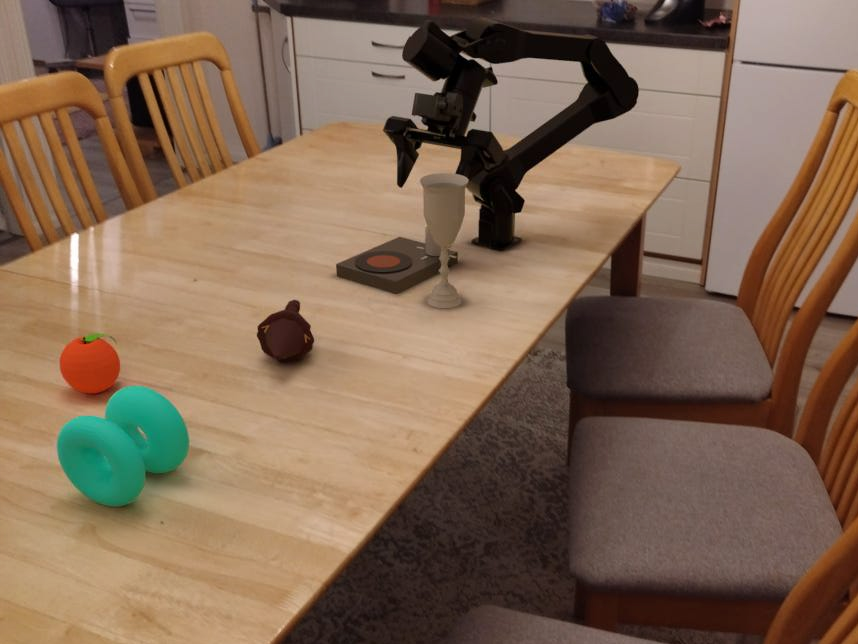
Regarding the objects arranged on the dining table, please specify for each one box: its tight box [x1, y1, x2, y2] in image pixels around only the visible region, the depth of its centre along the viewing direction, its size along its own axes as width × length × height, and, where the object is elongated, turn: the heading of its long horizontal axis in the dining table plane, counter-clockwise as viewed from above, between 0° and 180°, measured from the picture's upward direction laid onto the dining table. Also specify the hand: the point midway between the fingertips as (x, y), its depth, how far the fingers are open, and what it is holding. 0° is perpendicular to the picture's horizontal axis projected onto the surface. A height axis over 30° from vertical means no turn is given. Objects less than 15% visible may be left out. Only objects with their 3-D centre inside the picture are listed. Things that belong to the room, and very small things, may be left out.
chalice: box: [419, 172, 469, 309], centre depth 144 cm, size 7×7×18 cm
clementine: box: [59, 333, 121, 394], centre depth 122 cm, size 8×7×7 cm
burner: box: [355, 251, 412, 273], centre depth 156 cm, size 9×9×1 cm
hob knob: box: [424, 225, 449, 256], centre depth 159 cm, size 4×4×4 cm
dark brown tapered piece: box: [256, 299, 315, 363], centre depth 130 cm, size 7×7×15 cm
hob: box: [335, 236, 459, 295], centre depth 159 cm, size 17×13×2 cm
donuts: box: [56, 385, 190, 507], centre depth 103 cm, size 10×10×10 cm
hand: (424, 191), depth 153 cm, fingers open, 9 cm apart
